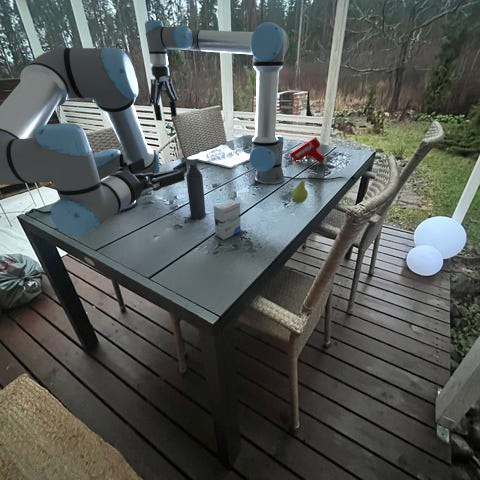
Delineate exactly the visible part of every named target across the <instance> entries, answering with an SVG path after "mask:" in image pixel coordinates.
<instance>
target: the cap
mask: <svg viewBox="0 0 480 480" xmlns="http://www.w3.org/2000/svg"><path fill="white" fill-rule="evenodd" d="M190 156H191V157H190ZM190 156H188V157H187V158H186V160H187V161H186V164H187V165H189V166H190V165H196V164H197V165H198V164H199V161H198V157H196V156H193V155H190Z"/></svg>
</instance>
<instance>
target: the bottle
mask: <svg viewBox="0 0 480 480" xmlns="http://www.w3.org/2000/svg"><path fill="white" fill-rule="evenodd" d="M185 173H186V174H185V180H186V187H187V195H188V204H189V212H190V218H191V219H193V220H203V219H204V218H206V215H207V213H206V201H205V190H204V188H205V187H204V178H203V177H204V176H203V173H202V171H201V169H200V168H199V166H198V164H196V165H189V166H188V168H187V171H186V172H185Z"/></svg>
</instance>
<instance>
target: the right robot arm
mask: <svg viewBox="0 0 480 480" xmlns="http://www.w3.org/2000/svg"><path fill="white" fill-rule="evenodd" d="M144 31H145V38H146V43H147V48H148V55H149V63H150V66H151V67H150V69H151V76H152V77H154V78H151V79H150V94H149V104H150V105H152V106H153V110H154V116H155V120H156V121H157V122H161V121H163V116H162V110H161V104H160V100H161V95H162V92H163V91H164V93H165V94H166V95H167V97H168V99H169V106H170V107H169V108H170V109H169V110H170V116H171V117H178V114H177V107H176V102H178V95H177V92H176V90H175V87H174V84H173V79H172V77H170V68H169V60H168V52H167V50H185V51H192V52H213V53H225V54H226V53H228V54H243V55H252V56H253V63H252V64H253V65H252V66H253V68H254V70H255V71H256V99H255V100H256V103H255V105H256V107H255V135H254V136H253V137H252V139H251V151H250V153H249V154H250V156H249V161H248V162H249V163H250V166H251V167H252V168H253V169H254V170H256V172H255V173H256V174H255V178H254V181H255V183H258V184H259V185H262V186H263V185H264V186H279V185H281V184H283V183H284V181H285V179H292V180H298V181H299V180H305V179H306V178H307V177H292V176H286V175H284V172H283V171H284V170H283V167H282V165H283V154H284V153H283V152H284V137H283V135H280V134H279V135H278V134H276V126H277V108H278V94H279V93H278V91H279V76H280V75H279V73H280V71H281V70H282V69H283V67H284V57H285V55H286V54H287V51H288V49H289V41H290V40H289V36H288V33H287V31H286V30H285V29H284V28H283V27H281V26H280V25H278V24H277V23H275V22H271V21H268V22H267V21H266V22H262V23H260V24H259V25H257V27H255V29H254V30H253V31H235V30H234V31H231V30H208V29H207V30H206V29H192V28H191V29H190V27H189V26H187V25H177V26H176V25H175V26H174V25H173V26H164V23H163V21H161V20H146V21H145V22H144ZM344 178H346V177H342V176H336V177H328V178H325V177H324V178H323V177H311V176H310V177H309V178H307V179H306V180H319V181H331V180H336V179H344ZM350 178H351V179H355V177H354V176H352V177H350Z"/></svg>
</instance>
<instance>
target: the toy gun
mask: <svg viewBox="0 0 480 480" xmlns="http://www.w3.org/2000/svg"><path fill="white" fill-rule="evenodd" d="M320 147H321V142H320V141H319V140H318V138H317V136H314V137H313V138H311V139H310V140H308V141H306V142H305V143H303V144H302V145H300V146H299V147H297V148H296V149H294V150H293V151H292V152H290V153H289V156H290V158H292V160H293V162H295V163H296V162H297V161H296V160H298V161H299V160H301V159H303V158H304V157H305V159H307V160H309V159H310V158H313V159H315V160H316V162H317V164H320V163H323V162H324V159H325V157H326V156H325V155H324V154H323V153H322V152H320V151H319V149H320ZM318 148H319V149H318ZM322 160H323V161H322ZM318 161H319V162H320V163H318ZM321 161H322V162H321Z"/></svg>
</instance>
